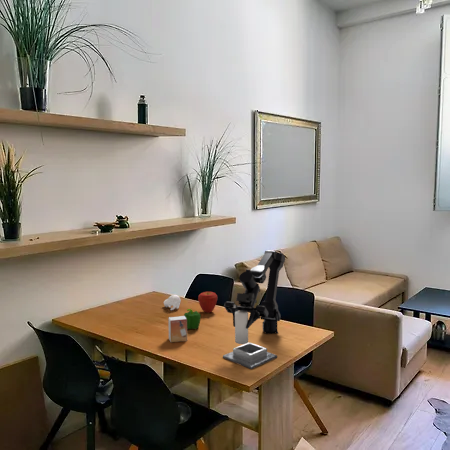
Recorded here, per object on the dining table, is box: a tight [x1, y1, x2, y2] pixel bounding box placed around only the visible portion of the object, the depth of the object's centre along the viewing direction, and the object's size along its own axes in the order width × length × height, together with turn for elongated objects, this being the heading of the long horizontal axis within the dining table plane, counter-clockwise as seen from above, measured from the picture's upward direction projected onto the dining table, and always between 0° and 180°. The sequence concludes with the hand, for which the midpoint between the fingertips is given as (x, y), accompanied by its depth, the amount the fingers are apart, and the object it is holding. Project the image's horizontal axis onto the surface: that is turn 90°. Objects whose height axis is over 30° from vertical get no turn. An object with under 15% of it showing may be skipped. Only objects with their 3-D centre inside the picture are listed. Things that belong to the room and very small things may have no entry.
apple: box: [197, 291, 218, 314], centre depth 247 cm, size 11×11×12 cm
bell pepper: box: [183, 308, 202, 330], centre depth 221 cm, size 8×8×10 cm
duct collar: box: [222, 341, 278, 370], centre depth 183 cm, size 16×16×4 cm
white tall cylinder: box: [234, 311, 249, 345], centre depth 183 cm, size 6×6×12 cm
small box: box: [168, 315, 188, 343], centre depth 204 cm, size 8×6×10 cm
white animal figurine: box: [163, 294, 182, 311], centre depth 255 cm, size 6×8×12 cm
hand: (240, 327), depth 182 cm, fingers closed on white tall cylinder, 5 cm apart
